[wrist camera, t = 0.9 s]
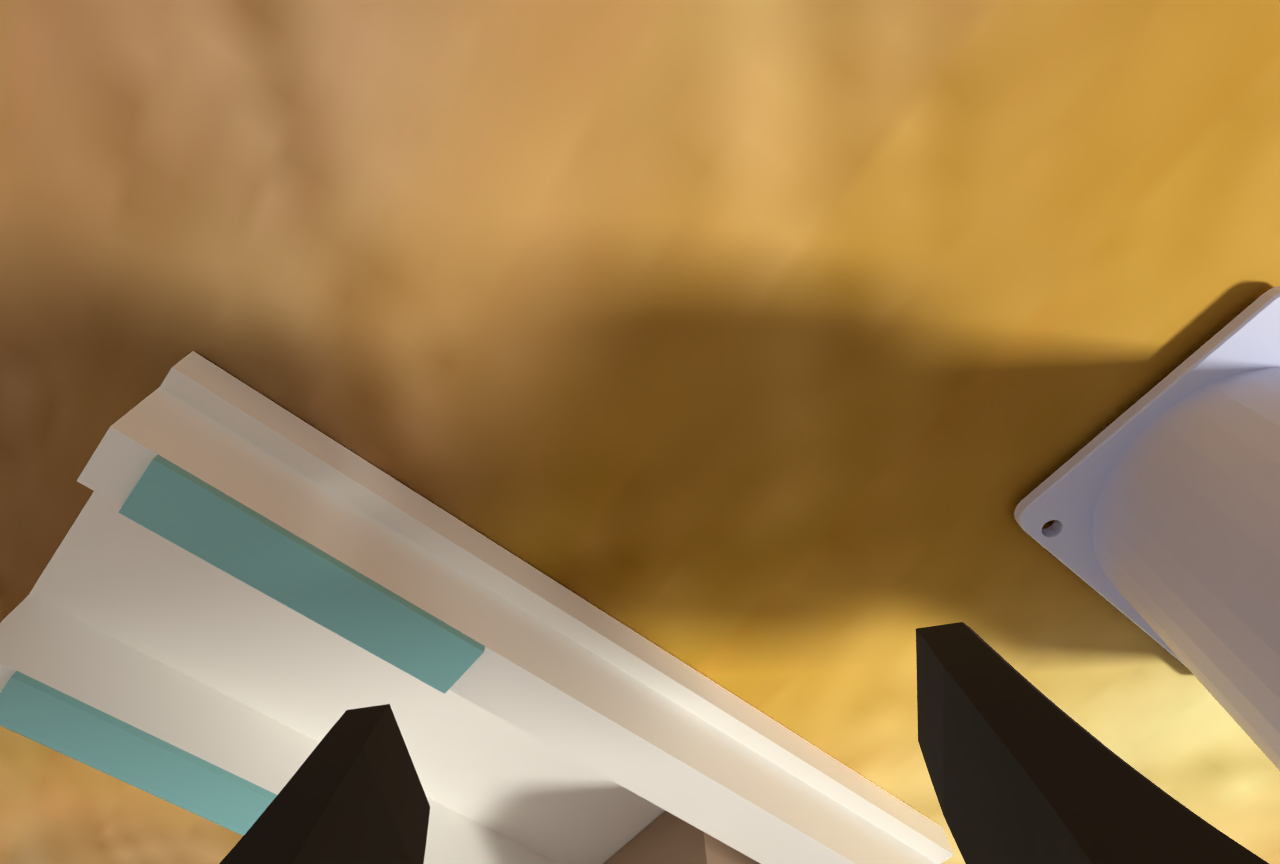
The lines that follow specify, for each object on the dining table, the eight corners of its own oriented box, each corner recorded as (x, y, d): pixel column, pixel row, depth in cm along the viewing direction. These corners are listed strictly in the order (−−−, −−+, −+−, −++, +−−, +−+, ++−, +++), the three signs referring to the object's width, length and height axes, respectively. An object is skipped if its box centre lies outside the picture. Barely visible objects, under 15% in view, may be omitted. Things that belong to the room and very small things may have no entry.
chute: (942, 827, 27) (982, 923, 24) (733, 977, 30) (746, 1078, 27) (192, 350, 19) (118, 409, 16) (19, 624, 22) (-70, 713, 19)
